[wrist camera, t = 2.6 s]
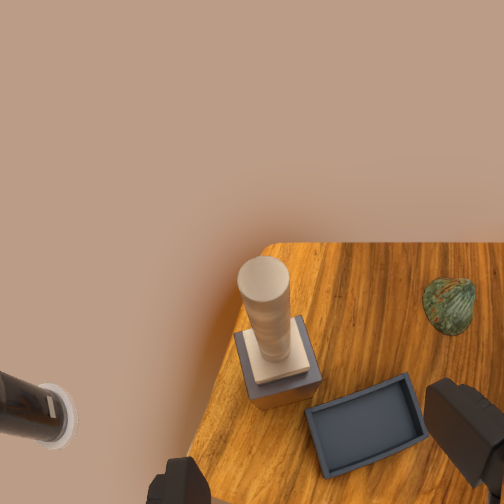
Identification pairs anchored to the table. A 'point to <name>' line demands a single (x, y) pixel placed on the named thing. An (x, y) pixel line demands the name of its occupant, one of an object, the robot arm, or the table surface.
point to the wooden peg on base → (270, 322)
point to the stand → (284, 389)
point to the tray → (366, 426)
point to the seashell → (450, 304)
